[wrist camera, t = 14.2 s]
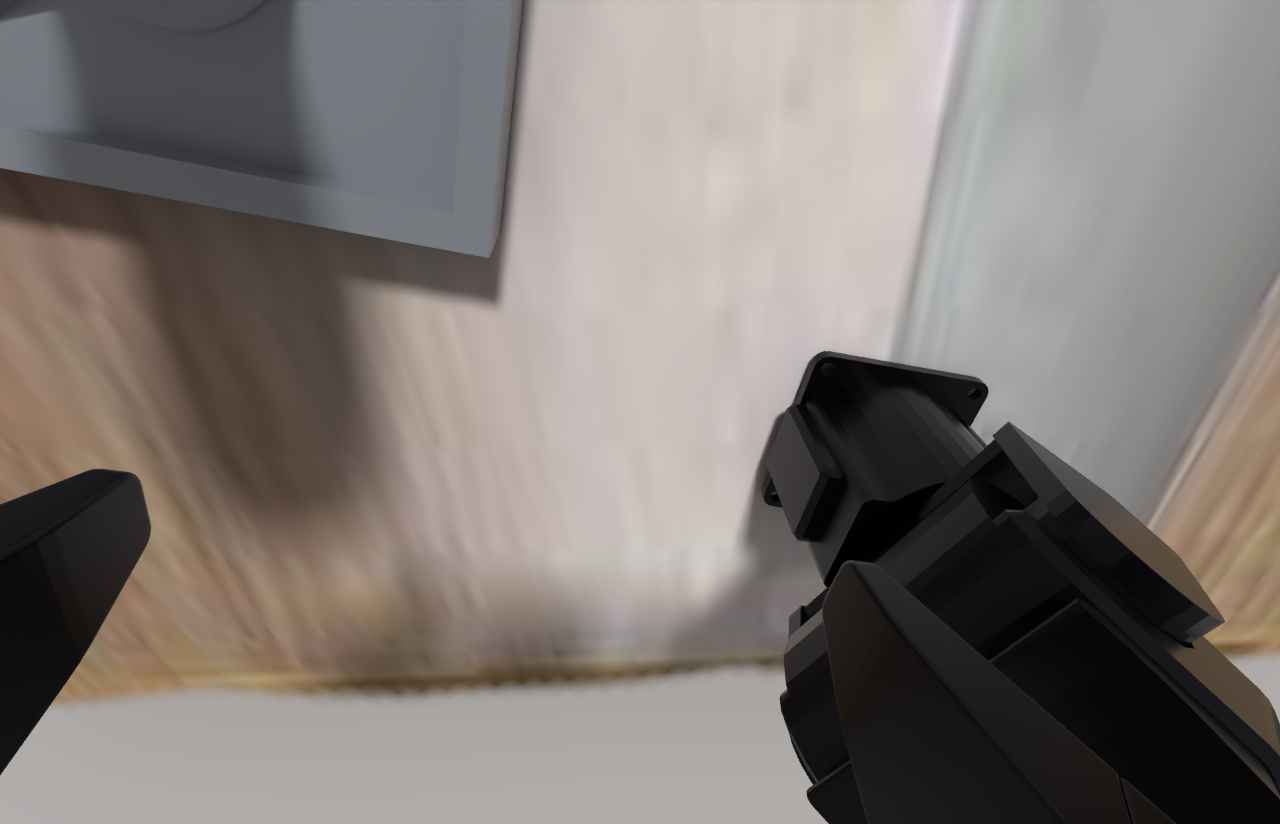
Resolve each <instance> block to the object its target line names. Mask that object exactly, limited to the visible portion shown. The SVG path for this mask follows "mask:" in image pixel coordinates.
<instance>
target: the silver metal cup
mask: <svg viewBox="0 0 1280 824" xmlns="http://www.w3.org/2000/svg"><path fill="white" fill-rule="evenodd" d="M263 1H264V0H0V26H1V25H5V24H8V23H11V22H14V21H18V20H21V19H24V18H28V17H31V16H34V15H38V14H42V13H46V12H50V11H54V10H58V9H62V8H73V7H86V8H96V9H100V10H103V11H106V12H109V13H112V14H115V15H118V16H121V17H124V18H127V19H130V20H133V21H136V22H139V23H143V24H146V25H150V26H153V27H157V28H162V29H168V30H175V31H205V30H211V29H215V28H219V27H222V26H225V25H228V24H230V23H233V22H235V21H237V20H239V19H241V18H243V17H244V16H246V15H248V14H249V13H250V12H252V11H253V10H255V9H256V8H257V7H258V6H259V5H260V4H261V3H262V2H263Z"/></svg>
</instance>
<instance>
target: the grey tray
mask: <svg viewBox="0 0 1280 824" xmlns="http://www.w3.org/2000/svg"><path fill="white" fill-rule="evenodd" d="M522 4H523V0H264V1H263V2H262V3H261V4H260V5H259V6H258V7H257V8H256V9H255V10H253V11H252V12H250V13H249V14H248V15H246V16H244V17H243V18H241V19H239V20H237V21H235V22H233V23H230V24H228V25H225V26H222V27H219V28H215V29H211V30H205V31H175V30H168V29H162V28H157V27H153V26H150V25H146V24H143V23H139V22H136V21H133V20H130V19H127V18H124V17H121V16H118V15H115V14H112V13H109V12H106V11H103V10H100V9H96V8H86V7H73V8H62V9H58V10H54V11H50V12H46V13H42V14H38V15H34V16H31V17H28V18H24V19H21V20H18V21H14V22H11V23H8V24H5V25H1V26H0V168H3V169H9V170H14V171H19V172H25V173H30V174H36V175H41V176H47V177H52V178H57V179H63V180H68V181H74V182H79V183H85V184H90V185H95V186H101V187H106V188H112V189H117V190H123V191H128V192H133V193H139V194H144V195H150V196H155V197H160V198H166V199H171V200H177V201H182V202H188V203H193V204H198V205H204V206H209V207H215V208H220V209H226V210H231V211H236V212H242V213H247V214H253V215H258V216H264V217H269V218H274V219H280V220H285V221H291V222H296V223H301V224H307V225H312V226H318V227H323V228H329V229H334V230H339V231H345V232H350V233H356V234H361V235H367V236H372V237H377V238H383V239H388V240H394V241H399V242H405V243H410V244H415V245H421V246H426V247H432V248H437V249H442V250H448V251H453V252H459V253H464V254H470V255H475V256H480V257H486V258H489V256H490V254H491V252H492V250H493V248H494V246H495V244H496V242H497V240H498V238H499V236H500V228H501V217H502V207H503V197H504V187H505V177H506V167H507V156H508V146H509V136H510V126H511V116H512V105H513V95H514V85H515V75H516V65H517V54H518V44H519V34H520V24H521V14H522Z"/></svg>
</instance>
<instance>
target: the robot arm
mask: <svg viewBox="0 0 1280 824" xmlns="http://www.w3.org/2000/svg"><path fill="white" fill-rule="evenodd" d="M826 363H832V364H831V367H830V368H829V369H828V370H826V371H821V367H822V366H823V365H824V364H826ZM972 389H975V391H974V392H973V393H972V394H970V395H967V394H968V392H969V391H970V390H972ZM987 395H988V387H987V386H986V385H985V384H984V383H983V382H982V381H981V380H980V379H978V378H976V377H972V376H966V375H960V374H955V373H949V372H943V371H938V370H932V369H926V368H921V367H915V366H909V365H904V364H898V363H892V362H887V361H881V360H875V359H870V358H864V357H858V356H853V355H847V354H841V353H836V352H830V351H824V352H821V353H818V354H817V355H816V356H815V357H813V359H812V361H811V362H810V365H809V368H808V370H807V373H806V375H805V378H804V380H803V383H802V386H801V388H800V391H799V393H798V396H797V399H796V401H795V404H792V405H791V406H790V407H789V408H787V410H786V412H785V415H784V418H783V420H782V423H781V425H780V428H779V431H778V433H777V436H776V438H775V441H774V444H773V446H772V449H771V452H770V454H769V457H768V459H767V467H768V469H769V471H768V473H767V476H766V479H765V481H764V484H763V486H762V491H761V492H762V495H763V498H764V501H765V503H767V504H768V505H770V506H775V507H782V508H783V509H784V512H785V514H786V517H787V520H788V522H789V525H790V527H791V530H792V533H793V534H794V536H795V537H796V538H797V540H798V541H806V542H807V543H808V545H809V548H810V550H811V552H812V555H813V557H814V560H815V562H816V565H817V567H818V570H819V572H820V575H821V577H822V580H823V582H824V584H825V586H826V587H827V588H826V589H825V590H824V591H823V592H822V593H821V594H820V595H818V596H817V597H816V598H815V599H814V600H813V601H812V602H811V603H809V604H808V605H807V606H806V607H805V606H801V607H800V608H799V609H797V610H796V611H795V612H794V613H793V614H792V615H791V616H790V618H789V641H788V644H787V647H786V650H785V653H784V666H785V678H786V686H787V690H786V691H784V692H783V693H782V694H781V696H780V705H781V711H782V714H783V717H784V720H785V723H786V725H787V728H788V731H789V734H790V738H791V742H792V744H793V747H794V749H795V752H796V754H797V757H798V759H799V761H800V763H801V765H802V767H803V769H804V770H805V772H806V774H807V776H808V777H809V779H810V781H811V782H812V783H813V786H811V787H810V788H809V789H808V790H807V797H808V800H809V802H810V803H811V805H813V807H814V808H815V809H816V810H817V811H818V812H819V814H821V816H822V817H823V818H824V819H825V820H826V821H827V822H828V823H829V824H1280V723H1279V721H1278V718H1277V715H1276V712H1275V710H1274V708H1273V707H1272V705H1271V703H1270V701H1269V699H1267V697H1266V696H1265V695H1264V694H1263V693H1262V692H1261V690H1260V689H1259V688H1258V687H1257V686H1256V685H1254V684H1253V683H1252V682H1251V681H1250V680H1249V679H1248V678H1247V677H1246V676H1245V675H1244V674H1243V673H1241V672H1240V671H1239V670H1238V669H1237V668H1236V667H1235V666H1234V665H1233V664H1232V663H1231V662H1230V661H1229V660H1228V659H1227V658H1226V657H1225V656H1224V655H1223V654H1222V653H1220V652H1219V651H1218V650H1217V649H1216V648H1215V647H1214V646H1213V645H1212V644H1211V643H1210V642H1209V641H1208V640H1207V639H1206V638H1204V637H1203V635H1205V634H1207V633H1208V632H1210V631H1211V630H1213V629H1215V628H1216V627H1218V626H1219V625H1221V624H1223V623H1224V622H1225V621H1224V618H1223V617H1222V615H1221V614H1220V612H1219V611H1218V610H1217V608H1216V607H1215V605H1214V604H1213V603H1212V601H1211V600H1210V598H1209V597H1208V596H1207V594H1206V593H1205V591H1204V590H1203V589H1202V587H1201V586H1200V584H1199V583H1198V582H1197V580H1196V579H1195V577H1194V576H1193V575H1192V573H1191V572H1190V571H1189V569H1188V568H1187V566H1186V565H1185V564H1184V562H1183V561H1182V559H1181V558H1180V557H1179V556H1178V555H1177V554H1176V553H1175V552H1174V551H1173V550H1172V549H1171V548H1170V547H1169V546H1168V545H1166V544H1165V543H1164V542H1163V541H1162V540H1161V539H1160V538H1158V537H1157V536H1156V535H1155V534H1154V533H1153V532H1152V531H1150V530H1149V529H1148V528H1147V527H1146V526H1145V525H1144V524H1142V523H1141V522H1140V521H1139V520H1138V519H1137V518H1136V517H1134V516H1133V515H1132V514H1131V513H1130V512H1129V511H1128V510H1126V509H1125V508H1124V507H1123V506H1122V505H1121V504H1120V503H1118V502H1117V501H1116V500H1115V499H1114V498H1113V497H1111V496H1110V495H1109V494H1108V493H1106V492H1105V491H1104V490H1102V489H1101V488H1100V487H1098V486H1097V485H1095V484H1094V483H1093V482H1091V481H1090V480H1089V479H1087V478H1086V477H1084V476H1083V475H1082V474H1080V473H1079V472H1078V471H1076V470H1075V469H1073V468H1072V467H1071V466H1069V465H1068V464H1067V463H1065V462H1064V461H1062V460H1061V459H1060V458H1058V457H1057V456H1056V455H1054V454H1053V453H1051V452H1050V451H1049V450H1047V449H1046V448H1045V447H1043V446H1042V445H1040V444H1039V443H1038V442H1036V441H1035V440H1034V439H1032V438H1031V437H1029V436H1028V435H1027V434H1025V433H1024V432H1023V431H1021V430H1020V429H1018V428H1017V427H1016V426H1014V425H1013V424H1012V423H1010V422H1007V423H1006V424H1005V425H1004V426H1003V427H1002V428H1001V429H1000V430H999V431H997V432H996V433H995V434H994V435H993V437H994V438H995V440H993V441H992V442H991V443H990V444H989V445H988V446H987V445H986V444H985V442H984V441H983V440H982V439H981V438H980V437H979V436H978V435H977V434H976V433H975V432H974V431H973V429H972V428H971V427H970V426H971V424H972V422H973V421H974V419H975V417H976V415H977V414H978V412H979V410H980V408H981V406H982V405H983V403H984V401H985V399H986V398H987ZM774 491H777V493H778V494H776V495H771V493H772V492H774ZM150 533H151V523H150V519H149V515H148V510H147V506H146V502H145V498H144V493H143V489H142V485H141V482H140V480H139V478H138V477H137V476H136V475H135V474H132V473H130V472H124V471H116V470H107V469H92V470H89V471H86V472H83V473H81V474H78V475H75V476H73V477H70V478H68V479H65V480H62V481H60V482H57V483H55V484H52V485H50V486H47V487H44V488H42V489H39V490H37V491H34V492H31V493H29V494H26V495H24V496H21V497H19V498H16V499H13V500H11V501H8V502H6V503H3V504H0V775H1V774H2V772H3V771H4V769H5V768H6V767H7V765H8V764H9V762H10V761H11V760H12V758H13V757H14V755H15V754H16V752H17V751H18V750H19V748H20V746H21V745H22V744H23V743H24V741H25V740H26V738H27V737H28V736H29V734H30V733H31V731H32V730H33V729H34V727H35V726H36V724H37V723H38V722H39V720H40V719H41V717H42V716H43V714H44V713H45V712H46V710H47V709H48V707H49V706H50V705H51V703H52V702H53V700H54V699H55V698H56V696H57V695H58V693H59V692H60V691H61V689H62V688H63V686H64V685H65V684H66V682H67V681H68V679H69V678H70V676H71V675H72V673H73V672H74V670H75V669H76V667H77V666H78V664H79V663H80V661H81V660H82V658H83V656H84V655H85V653H86V652H87V650H88V648H89V647H90V645H91V643H92V642H93V640H94V638H95V636H96V635H97V633H98V631H99V629H100V627H101V626H102V624H103V622H104V620H105V619H106V617H107V615H108V613H109V611H110V610H111V608H112V606H113V604H114V603H115V601H116V599H117V597H118V595H119V594H120V592H121V590H122V588H123V587H124V585H125V583H126V581H127V579H128V578H129V576H130V574H131V572H132V571H133V569H134V567H135V565H136V563H137V562H138V560H139V558H140V556H141V555H142V553H143V551H144V549H145V547H146V545H147V543H148V541H149V538H150Z"/></svg>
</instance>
